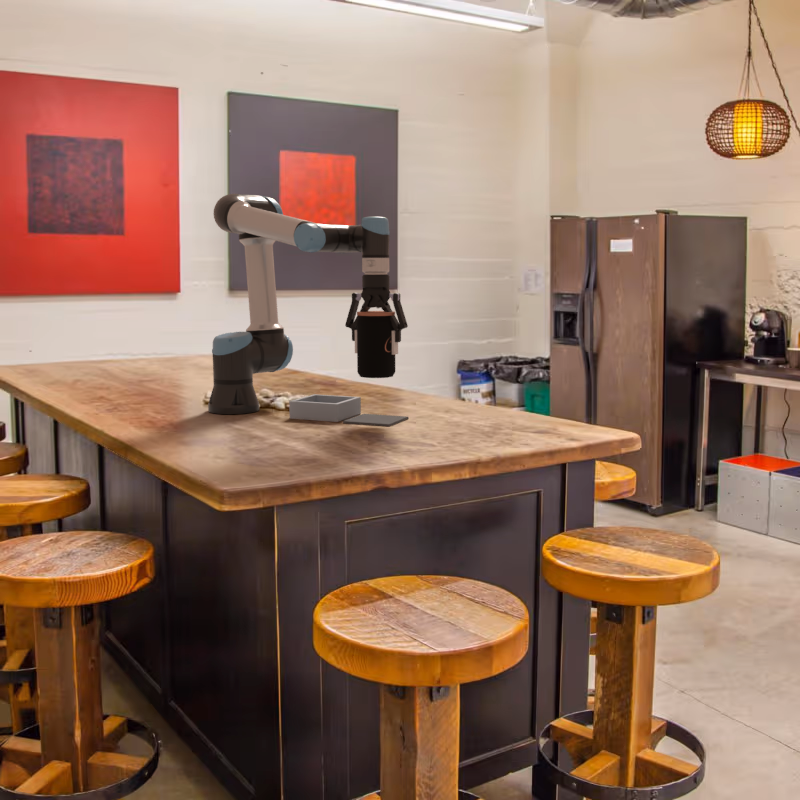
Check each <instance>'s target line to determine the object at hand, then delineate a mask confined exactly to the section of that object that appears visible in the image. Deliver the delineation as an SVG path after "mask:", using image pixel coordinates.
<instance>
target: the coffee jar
mask: <svg viewBox="0 0 800 800" xmlns="http://www.w3.org/2000/svg"><path fill="white" fill-rule="evenodd" d="M356 315H358V317H359V319H358V320H357V353H356V354H357V355H356V359H357V360H356V361H357V363H356V364H357V366H356V368H357V374H358V376H359V377H360V378H364V379H365V378H366V379H384V378H385V379H386V378H387V379H388V378H392V377H394V375H395V373H396V354H395V355H392V331H394V328H393V326H392V322H391V320H390V316H392V315H395V316H396V311H395V310H394V311H393V310H392V312H384V310H368V311H367V312H360V311H357V312H356Z"/></svg>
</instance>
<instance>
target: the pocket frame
mask: <svg viewBox="0 0 800 800" xmlns="http://www.w3.org/2000/svg"><path fill="white" fill-rule="evenodd" d="M361 400H362V397H361V396H350V395H349V396H348V395H333V394H316V393H314V394H310V395H306V396H303V397H299V398H296V399H292V400H289V401H288V403H289V405H288V406H289V407H288V408H289V416H288V417H289V419H293V420H294V419H295V420H306V421H307V420H310V421H320V422H321V421H322V422H323V421H324V422H335V423H338V422H341V421H342V422H343V421H344V420H347V419H350V418H353V417H356V416H359V415H362V414H361V413H362V412H361V411H362V410H361V409H362V408H361V407H362V405H361V404H362V401H361Z"/></svg>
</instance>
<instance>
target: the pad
mask: <svg viewBox="0 0 800 800" xmlns="http://www.w3.org/2000/svg"><path fill="white" fill-rule="evenodd" d="M408 419H409V416H405V415H402V416H401V415H393V414H392V415H391V414H388V415H387V414H377V413H362V414H359V415H356V416H353V417H350V418H347V419H344V420H342V424H350V425H351V424H352V425H362V426H364V425H366V426H378V427H391V425H392V426H394V425H396V423H397V424H399V423H402V422H403V421H406V420H408Z"/></svg>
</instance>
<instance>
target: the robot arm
mask: <svg viewBox="0 0 800 800" xmlns="http://www.w3.org/2000/svg"><path fill="white" fill-rule="evenodd" d="M213 219H214V222H215V223H216V226H218V227H219V228H220V229H221V230H222V231H224V232H226V233H231V234H237V235H238V241H239V242H240V244H242V245H243V247H244V257H245V269H246V282H247V294H248V295H247V296H248V310H249V320H250V321H249V323H250V324H249V326H248V327H247V328H246V330H245V331H234V332H226V333H222V334H218V335H217V336H215V337H213V340H212V349H211V353H212V368H213V369H212V371H213V372H212V376H213V378H212V379H213V386H212V391H211V394H210V397H209V401H208V404H207V405H208V406H207V409H208V412H209V413H211V414H218V415H243V414H244V415H245V414H251V413H256V412H258V411H260V402H259V398H258V396H257V394H256V390H255V388H254V383H253V381H254V379H253V377H254V374H262V373H274V372H278V371H281V370H284V369H285V368H287V366H288V365H289V364H290V363H291V361H292V358H293V355H294V346H293V342H292V340H291V339H290V336H289V335H287V334H285V329H284V328H285V327H283V325H281V324H280V323H279V315H278V300H277V288H276V287H277V286H276V273H275V272H276V271H275V261H274V260H275V258H274V244H275V243H276V242H279V243H283V244H286V245H291V246H294V247H297V248H298V249H299V250H300V251H302V252H306V253H338V254H346V253H361V258H362V259H361V261H362V262H361V264H362V265H361V269H362V270H361V272H362V273H364V274H363V275H362V276H361V278H362V279H361V280H362V285H361V286H362V292H353V293H351V304H350V306H349V307H350V308H349V311H348V314H347V317H346V320H345V327H346V328H348V329H350V330H351V341H352V342H354V354H357V320H358V319H359V317H358V315H357V312H358V308H359V305H360V301H361V300H363V301H364V302H363V304H362V306H361V308H360V311H359V312H367V311H370V309H372V308H379V309H380V308H381V311H384V312H392V311H393V310H392V308H391V305H390V303H389V300H391V301H392V303H393V308H394V312H395V315H392V316H390V320H391V322H392V326H393V328H394V331H392V355H395V356H396V355H398V354H399V343H401V341H402V330H403V329H407V328H408V326H409V325H408V322H407V319H406V315H405V312H404V308H403V306H402V303H401V294H400V293H399V292H395V293H391V292H390V275H389V274H388V273H390V235H391V232H390V223H389V219H388V218H387V217H385V216H365V217H362V218H361V224H358V225H357V224H356V225H355V224H353V225H350V224H348V225H346V224H345V225H344V224H323V223H316V222H313V221H309V220H306V219H301V218H297V217H294V216H289V215H284V213H283V209H282V206H281V205H280V203H278V201H276V200H275V199H274V198H272V197H269V196H264V195H261V194H260V195H258V194H257V195H256V194H241V193H240V194H239V193H229V194H225V195H223V196H222V197H220V198H219V199H218V200H217V202H216V203H215V205H214V207H213ZM356 315H357V316H356Z"/></svg>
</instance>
